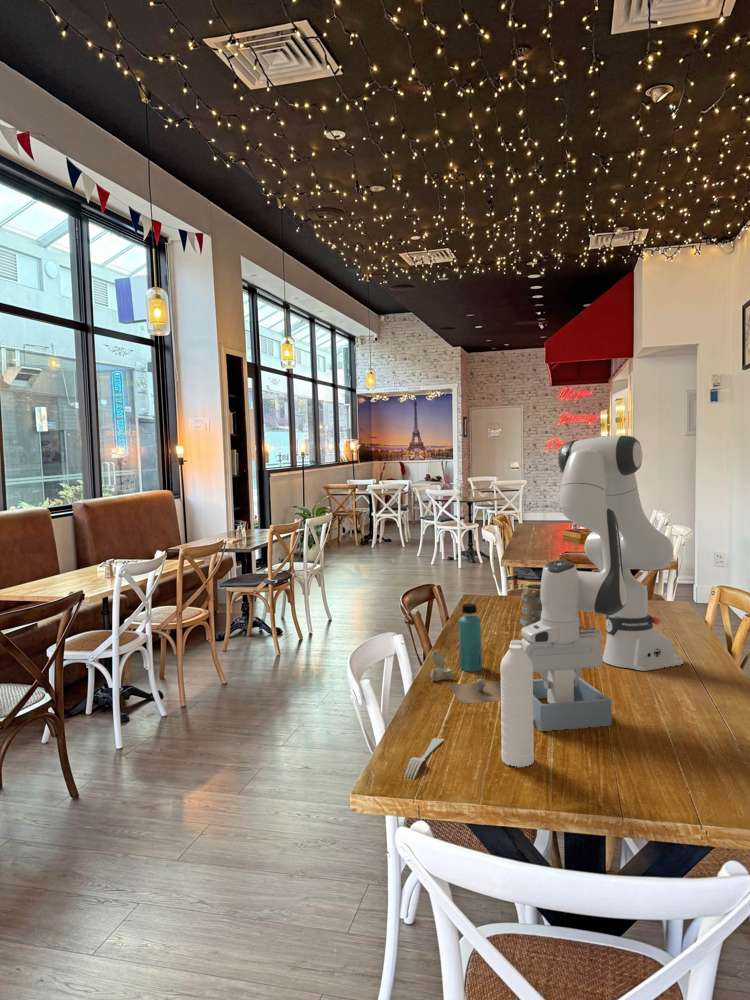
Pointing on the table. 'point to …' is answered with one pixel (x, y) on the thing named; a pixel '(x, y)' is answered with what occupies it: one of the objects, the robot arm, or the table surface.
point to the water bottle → (517, 707)
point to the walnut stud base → (477, 691)
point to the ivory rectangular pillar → (561, 686)
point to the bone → (440, 668)
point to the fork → (432, 746)
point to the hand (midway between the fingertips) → (560, 687)
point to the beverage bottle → (470, 640)
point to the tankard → (531, 604)
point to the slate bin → (571, 708)
